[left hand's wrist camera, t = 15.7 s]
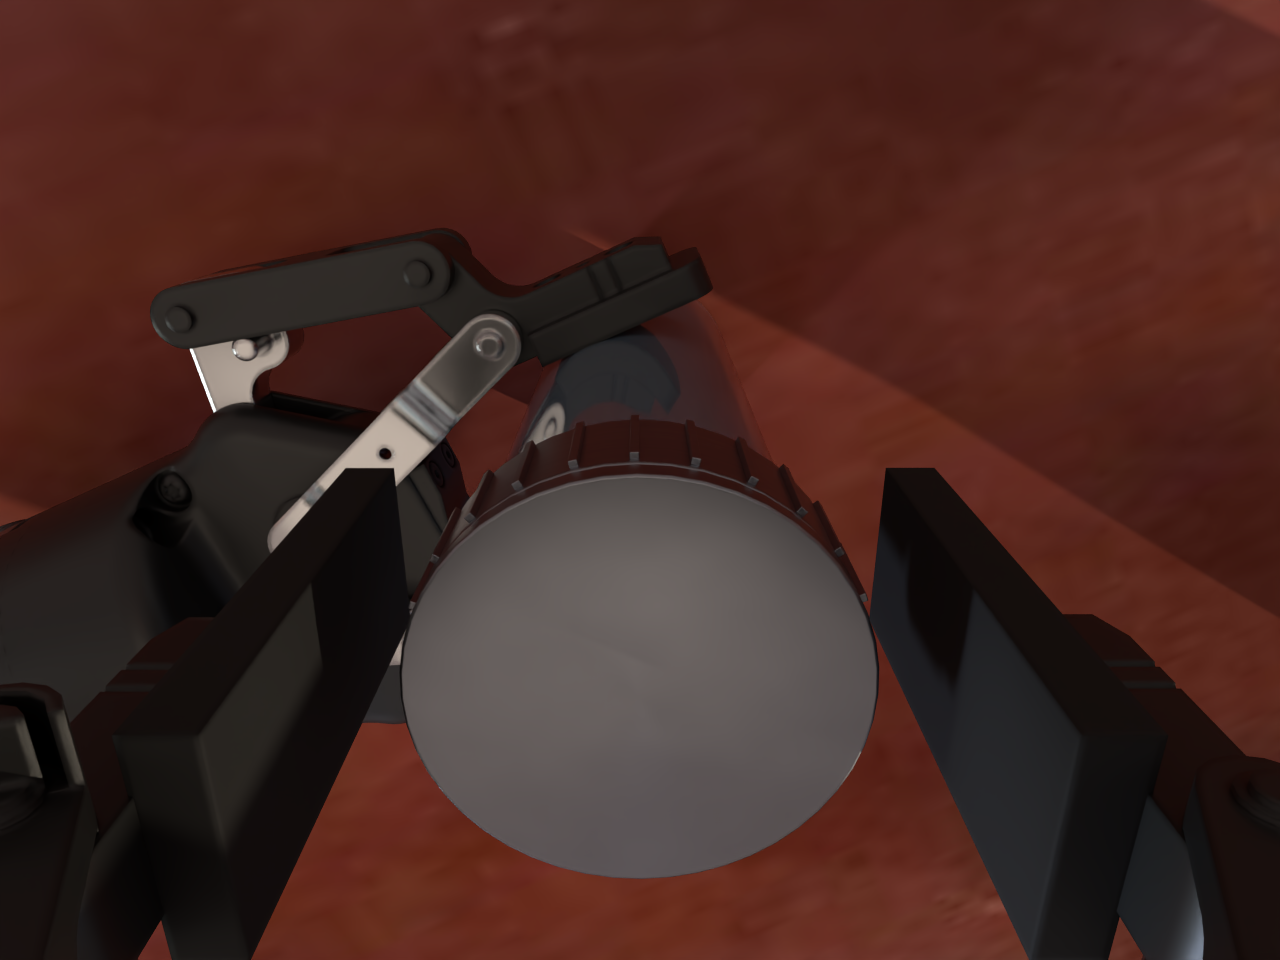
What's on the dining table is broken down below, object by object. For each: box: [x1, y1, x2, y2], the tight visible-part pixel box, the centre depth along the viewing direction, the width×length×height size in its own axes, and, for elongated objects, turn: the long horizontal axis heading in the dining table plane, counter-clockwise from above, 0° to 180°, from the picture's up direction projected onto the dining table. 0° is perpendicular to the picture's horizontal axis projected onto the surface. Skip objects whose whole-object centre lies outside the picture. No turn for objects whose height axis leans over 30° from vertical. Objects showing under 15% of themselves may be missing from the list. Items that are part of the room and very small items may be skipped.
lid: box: [399, 415, 879, 879], centre depth 11 cm, size 6×6×2 cm
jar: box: [505, 300, 773, 463], centre depth 18 cm, size 5×5×15 cm
